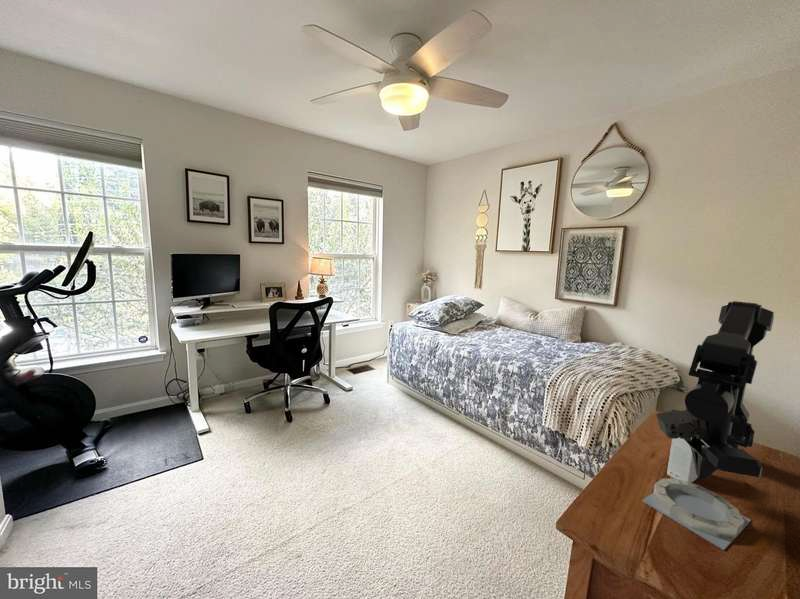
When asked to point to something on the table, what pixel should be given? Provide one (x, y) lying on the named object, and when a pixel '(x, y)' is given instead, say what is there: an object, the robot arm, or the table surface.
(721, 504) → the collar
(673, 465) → the skincare box
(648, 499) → the grey base plate
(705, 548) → the table surface
